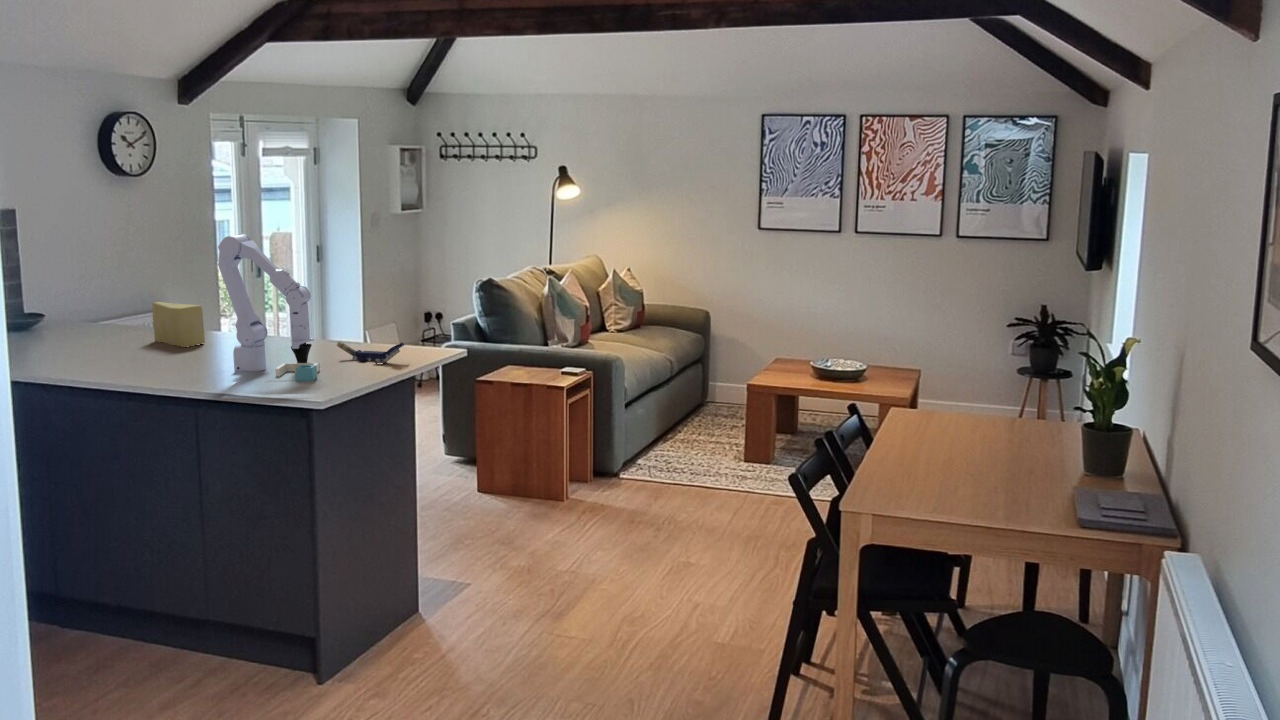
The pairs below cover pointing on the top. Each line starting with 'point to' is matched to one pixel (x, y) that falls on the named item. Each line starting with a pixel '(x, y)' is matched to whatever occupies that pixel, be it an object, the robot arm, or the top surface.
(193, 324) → the cheese
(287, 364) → the white u-shaped piece
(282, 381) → the board
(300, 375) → the blue square hollow block
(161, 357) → the top surface
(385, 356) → the toy
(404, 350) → the top surface
